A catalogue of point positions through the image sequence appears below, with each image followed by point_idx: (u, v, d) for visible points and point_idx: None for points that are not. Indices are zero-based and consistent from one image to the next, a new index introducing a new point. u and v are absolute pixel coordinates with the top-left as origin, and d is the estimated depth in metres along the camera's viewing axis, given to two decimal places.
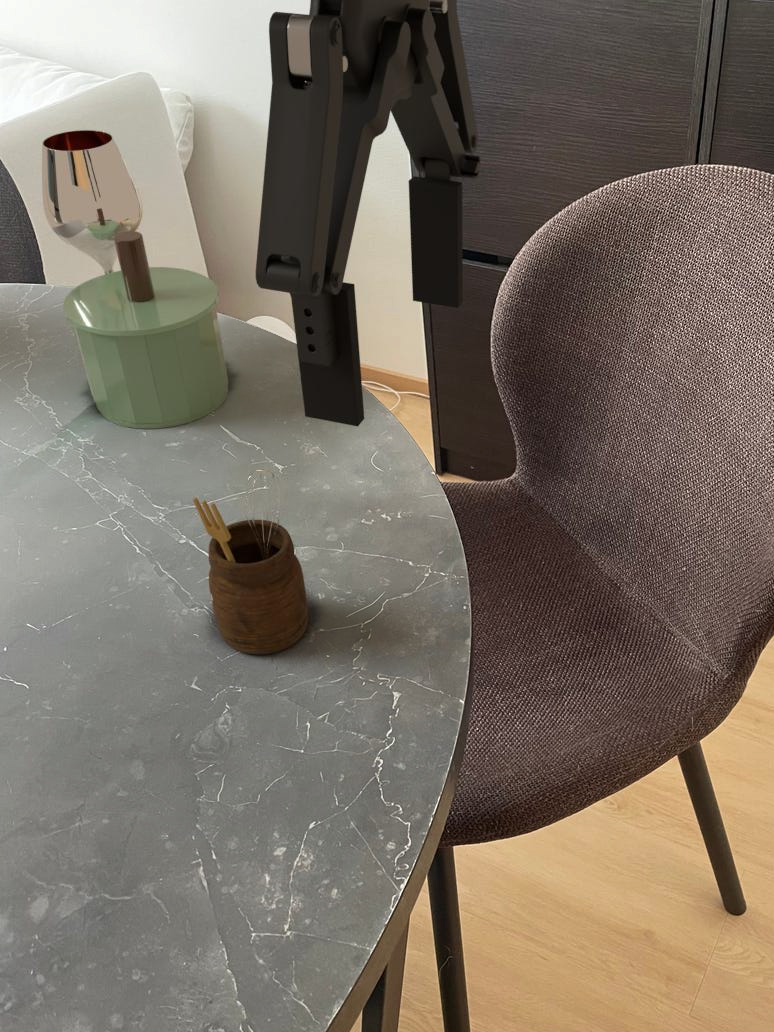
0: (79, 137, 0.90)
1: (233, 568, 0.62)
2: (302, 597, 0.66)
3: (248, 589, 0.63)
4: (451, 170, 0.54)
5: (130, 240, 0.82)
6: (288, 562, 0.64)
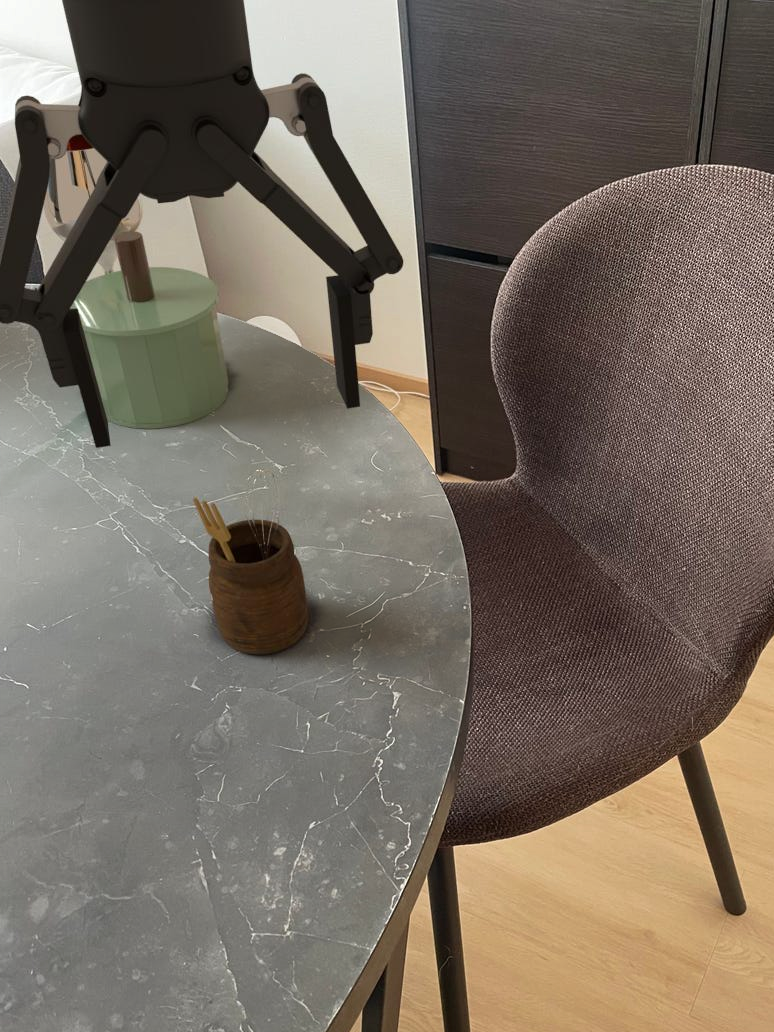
0: (79, 137, 0.90)
1: (233, 568, 0.62)
2: (302, 597, 0.66)
3: (248, 589, 0.63)
4: (345, 280, 0.54)
5: (130, 240, 0.82)
6: (288, 562, 0.64)
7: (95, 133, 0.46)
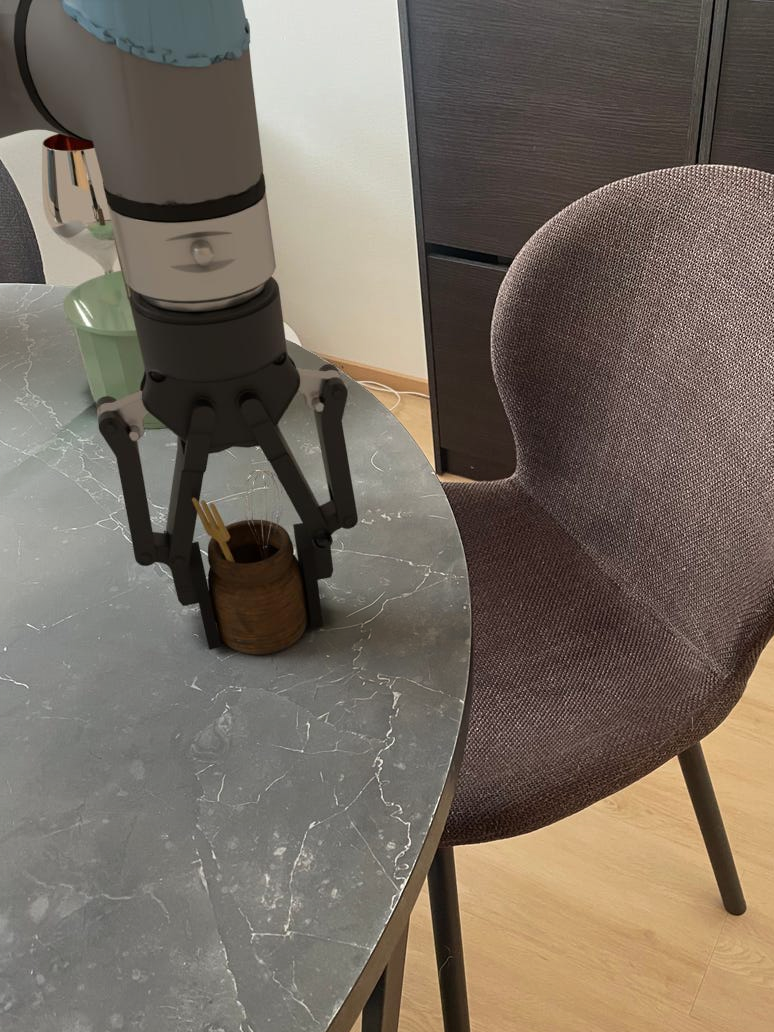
0: None
1: (232, 568, 0.62)
2: (301, 597, 0.66)
3: (247, 589, 0.63)
4: None
5: None
6: (287, 562, 0.64)
7: (159, 411, 0.55)
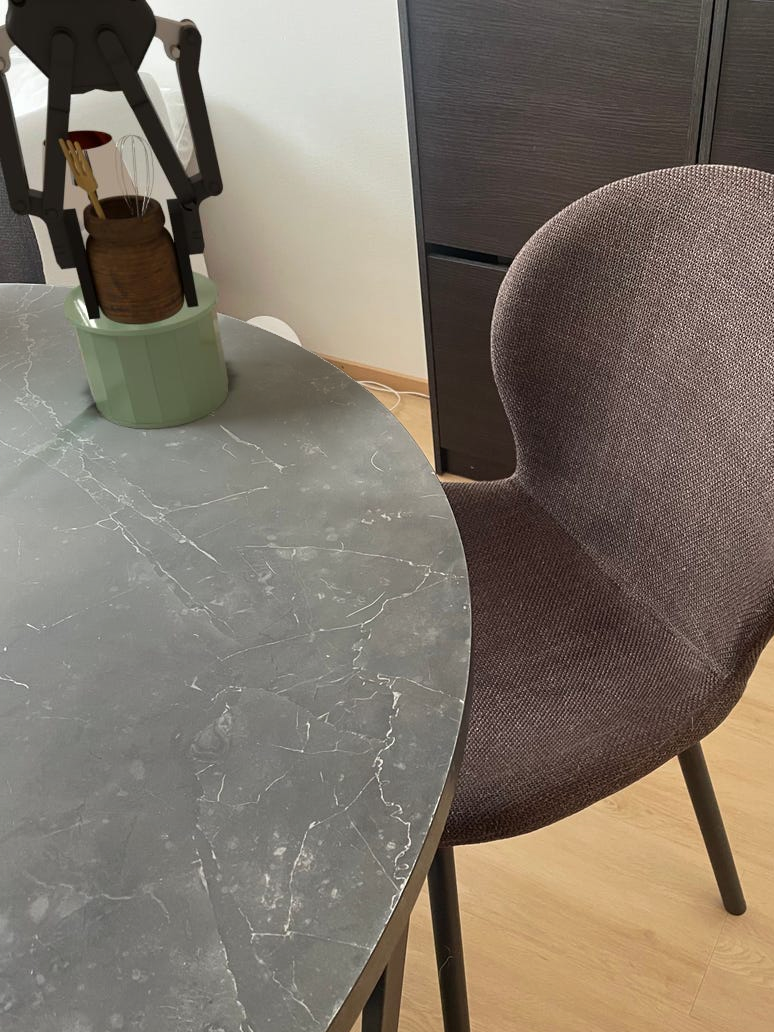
0: (79, 137, 0.90)
1: (103, 223, 0.67)
2: (175, 269, 0.71)
3: (119, 248, 0.68)
4: None
5: None
6: (157, 225, 0.69)
7: (22, 39, 0.60)
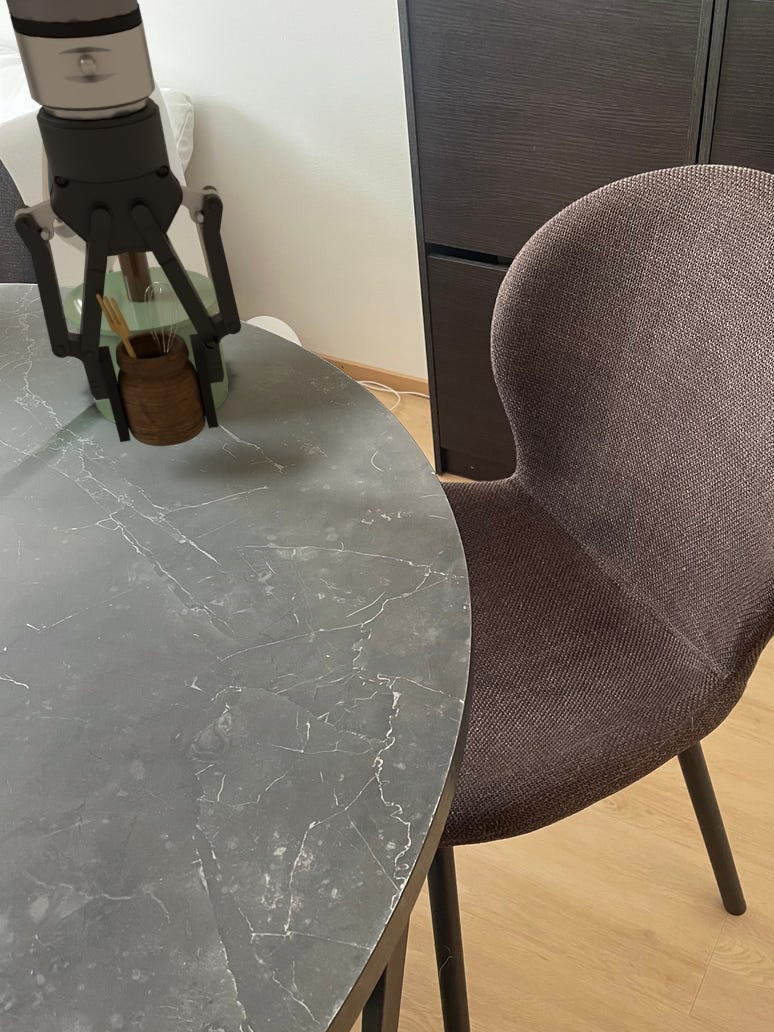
0: None
1: (134, 362, 0.75)
2: (197, 396, 0.79)
3: (148, 382, 0.76)
4: None
5: None
6: (182, 361, 0.76)
7: (65, 214, 0.68)
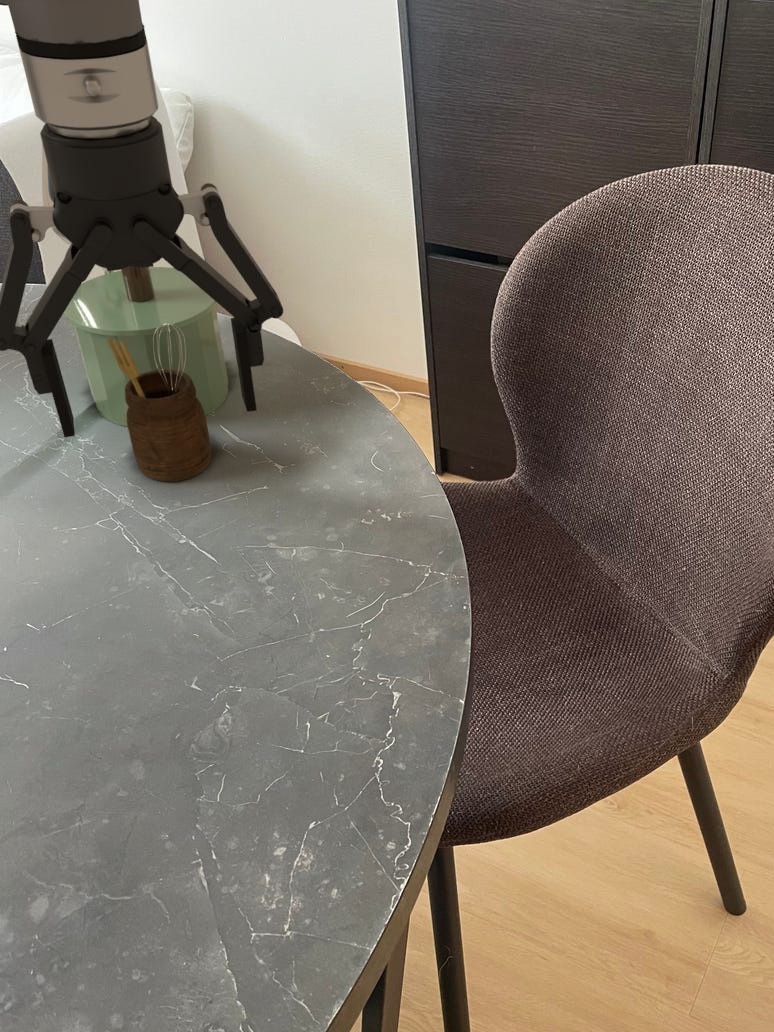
0: None
1: (143, 402, 0.77)
2: (204, 433, 0.81)
3: (156, 421, 0.78)
4: None
5: None
6: (189, 400, 0.79)
7: (64, 226, 0.69)
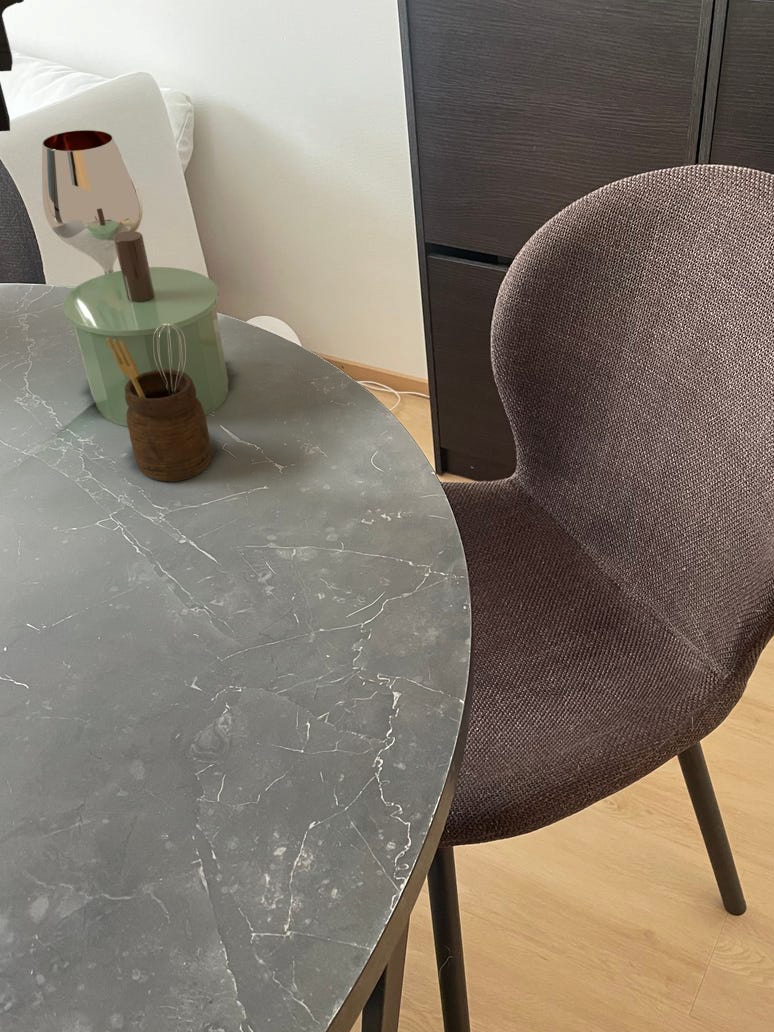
0: (79, 137, 0.90)
1: (143, 402, 0.77)
2: (204, 433, 0.81)
3: (156, 421, 0.78)
4: None
5: (130, 240, 0.82)
6: (189, 400, 0.79)
7: None
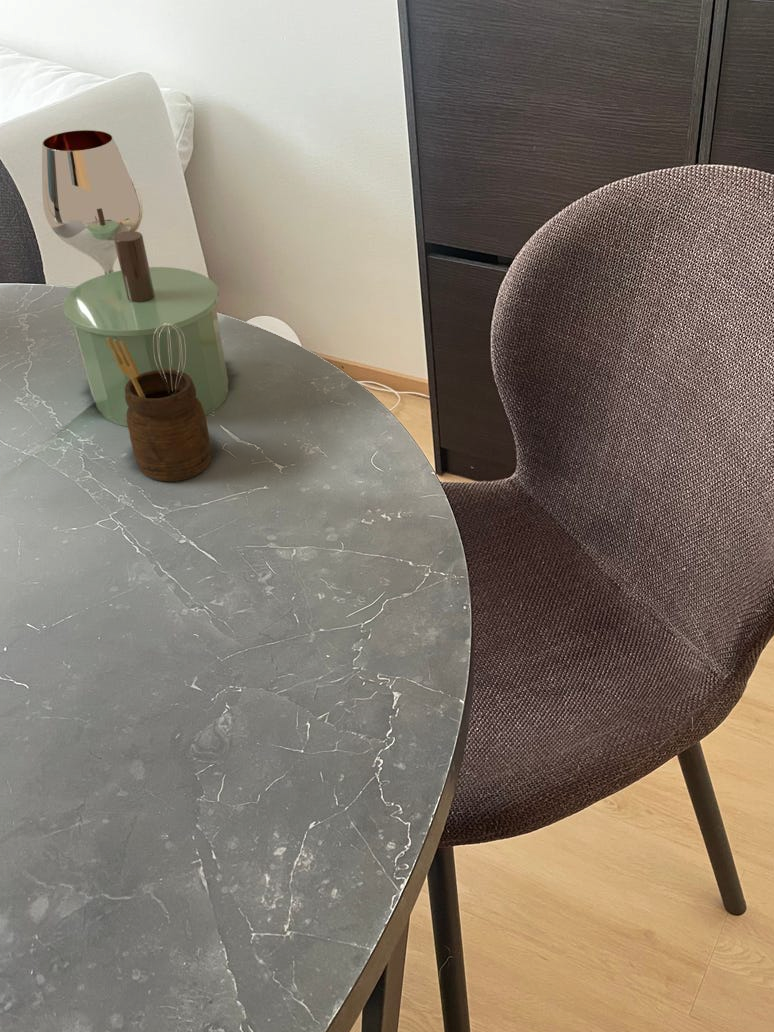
0: (79, 137, 0.90)
1: (143, 402, 0.77)
2: (204, 433, 0.81)
3: (156, 421, 0.78)
4: None
5: (130, 240, 0.82)
6: (189, 400, 0.79)
7: None
